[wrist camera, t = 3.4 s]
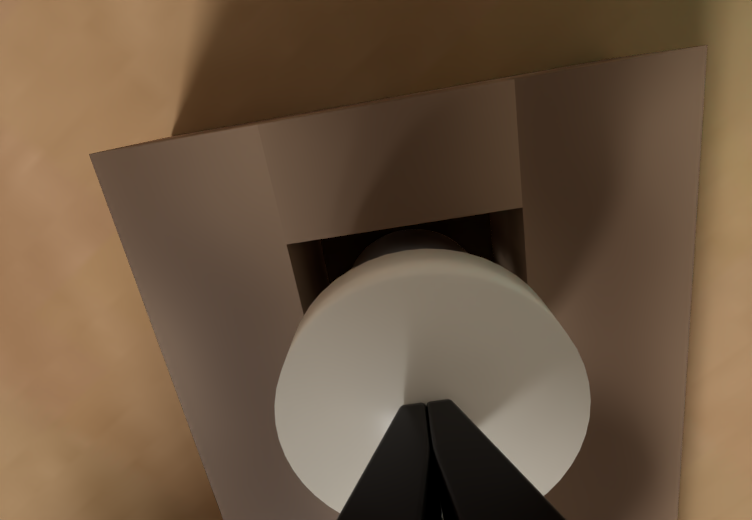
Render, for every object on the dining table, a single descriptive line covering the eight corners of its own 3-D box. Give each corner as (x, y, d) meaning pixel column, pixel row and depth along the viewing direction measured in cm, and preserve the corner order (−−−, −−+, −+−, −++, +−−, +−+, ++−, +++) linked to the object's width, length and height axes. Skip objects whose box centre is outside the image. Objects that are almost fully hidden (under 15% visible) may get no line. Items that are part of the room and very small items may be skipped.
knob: (337, 386, 14) (311, 549, 9) (298, 215, 12) (238, 301, 7) (516, 362, 13) (592, 519, 8) (502, 182, 12) (588, 249, 7)
